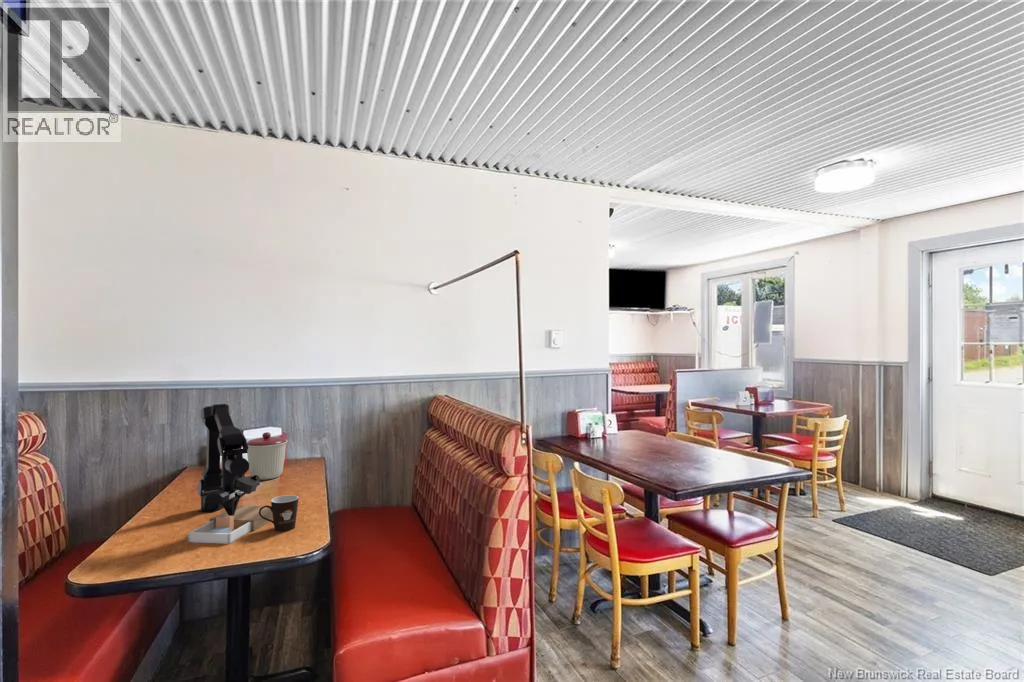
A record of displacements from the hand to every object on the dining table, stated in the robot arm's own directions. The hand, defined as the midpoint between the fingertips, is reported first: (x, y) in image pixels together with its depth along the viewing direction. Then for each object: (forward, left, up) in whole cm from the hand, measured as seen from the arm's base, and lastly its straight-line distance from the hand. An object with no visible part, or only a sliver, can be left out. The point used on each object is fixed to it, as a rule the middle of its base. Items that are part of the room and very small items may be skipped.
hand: (231, 516), depth 170 cm
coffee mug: (+15, +3, -5) cm, 16 cm away
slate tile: (0, -6, -2) cm, 6 cm away
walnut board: (0, +7, -5) cm, 9 cm away
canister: (-28, +64, -5) cm, 70 cm away
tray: (0, -5, -5) cm, 7 cm away
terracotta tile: (-1, -1, -2) cm, 2 cm away
